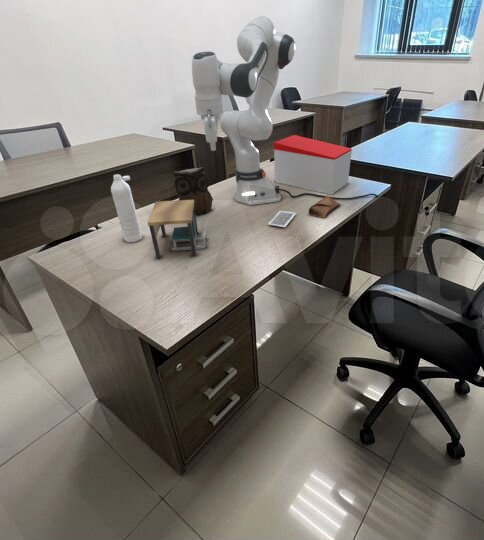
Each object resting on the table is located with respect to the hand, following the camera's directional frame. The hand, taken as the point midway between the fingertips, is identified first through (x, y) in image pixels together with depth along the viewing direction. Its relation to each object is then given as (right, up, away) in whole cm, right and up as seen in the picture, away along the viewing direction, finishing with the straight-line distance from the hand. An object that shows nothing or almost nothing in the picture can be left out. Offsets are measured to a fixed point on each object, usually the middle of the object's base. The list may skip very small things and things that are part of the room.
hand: (213, 149), depth 124 cm
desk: (-14, -35, +4) cm, 37 cm away
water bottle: (-32, -32, +8) cm, 46 cm away
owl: (-14, -17, +31) cm, 38 cm away
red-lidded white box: (+41, +4, +63) cm, 75 cm away
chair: (-10, -34, +4) cm, 36 cm away
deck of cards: (+25, -23, +22) cm, 41 cm away
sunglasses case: (+45, -16, +32) cm, 58 cm away
